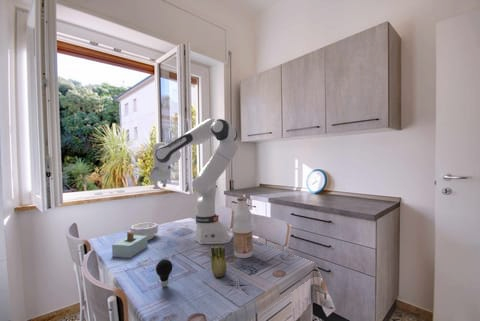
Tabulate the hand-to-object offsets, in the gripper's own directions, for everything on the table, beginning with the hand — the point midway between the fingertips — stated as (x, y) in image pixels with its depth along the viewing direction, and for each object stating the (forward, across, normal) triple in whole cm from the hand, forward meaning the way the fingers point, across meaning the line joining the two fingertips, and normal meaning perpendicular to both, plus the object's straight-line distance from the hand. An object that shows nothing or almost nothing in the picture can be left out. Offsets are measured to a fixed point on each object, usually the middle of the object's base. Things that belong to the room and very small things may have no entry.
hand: (160, 187), depth 148 cm
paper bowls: (+29, -13, +4) cm, 32 cm away
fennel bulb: (+29, -48, -54) cm, 78 cm away
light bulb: (+29, -59, -36) cm, 75 cm away
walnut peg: (+29, -32, -1) cm, 43 cm away
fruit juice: (+29, -27, -60) cm, 72 cm away
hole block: (+29, -32, -1) cm, 43 cm away
